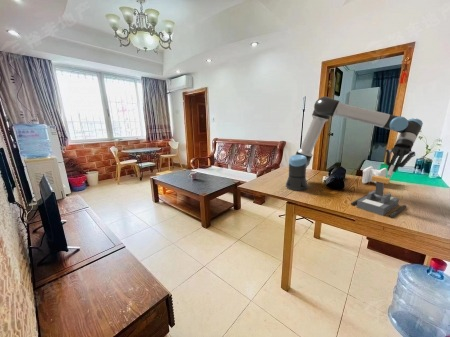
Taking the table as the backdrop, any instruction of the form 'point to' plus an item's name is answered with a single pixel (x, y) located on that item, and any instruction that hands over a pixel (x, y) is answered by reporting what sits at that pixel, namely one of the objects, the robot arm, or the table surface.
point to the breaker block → (377, 203)
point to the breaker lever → (380, 185)
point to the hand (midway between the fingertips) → (388, 175)
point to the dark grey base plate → (391, 214)
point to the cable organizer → (372, 174)
